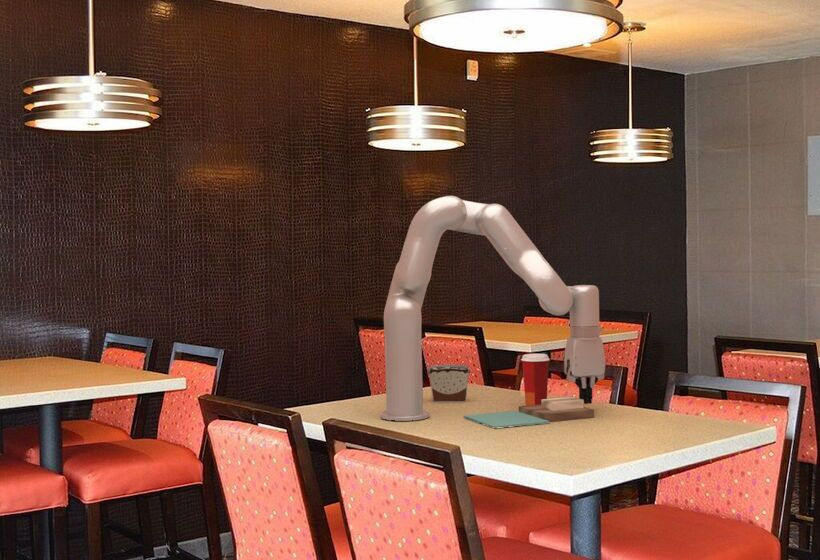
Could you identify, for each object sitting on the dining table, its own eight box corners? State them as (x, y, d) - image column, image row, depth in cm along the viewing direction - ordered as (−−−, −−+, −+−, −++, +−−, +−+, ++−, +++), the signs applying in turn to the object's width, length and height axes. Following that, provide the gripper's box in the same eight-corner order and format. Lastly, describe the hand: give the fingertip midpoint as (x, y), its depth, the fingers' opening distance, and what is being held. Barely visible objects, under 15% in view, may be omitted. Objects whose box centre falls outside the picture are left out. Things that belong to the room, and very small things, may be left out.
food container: (473, 398, 298) (472, 364, 298) (471, 402, 292) (470, 366, 292) (430, 398, 300) (429, 364, 300) (427, 402, 294) (427, 367, 294)
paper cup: (552, 404, 285) (551, 353, 285) (548, 408, 278) (547, 356, 277) (523, 403, 287) (522, 353, 287) (519, 408, 280) (518, 356, 279)
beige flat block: (541, 407, 268) (541, 399, 268) (571, 404, 272) (571, 396, 272) (553, 410, 263) (553, 402, 263) (583, 407, 266) (583, 399, 266)
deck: (518, 414, 271) (518, 406, 270) (565, 409, 276) (565, 402, 276) (545, 422, 258) (545, 414, 257) (594, 417, 263) (594, 409, 263)
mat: (463, 417, 267) (463, 415, 267) (515, 412, 272) (515, 410, 272) (495, 429, 250) (494, 426, 250) (549, 423, 256) (549, 421, 256)
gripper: (601, 330, 275) (602, 398, 276) (552, 333, 270) (553, 403, 271) (617, 332, 269) (618, 402, 269) (567, 335, 263) (568, 407, 264)
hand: (585, 402), depth 270 cm, fingers closed
